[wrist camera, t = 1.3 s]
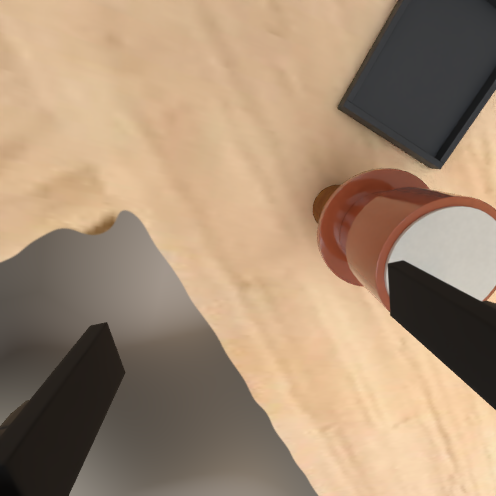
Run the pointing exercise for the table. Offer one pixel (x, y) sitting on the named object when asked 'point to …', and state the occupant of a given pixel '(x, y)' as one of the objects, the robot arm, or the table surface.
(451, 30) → the drip tray
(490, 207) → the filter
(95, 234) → the table surface
